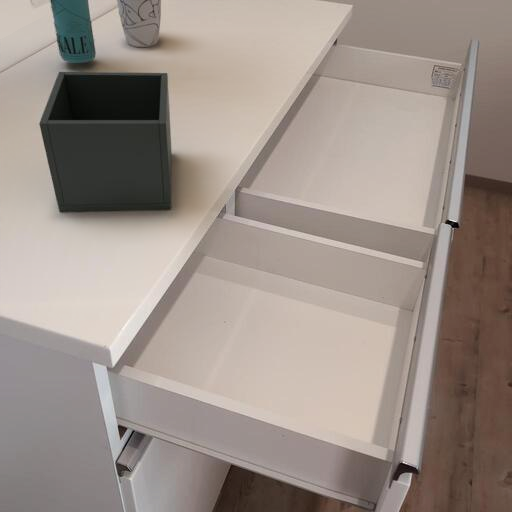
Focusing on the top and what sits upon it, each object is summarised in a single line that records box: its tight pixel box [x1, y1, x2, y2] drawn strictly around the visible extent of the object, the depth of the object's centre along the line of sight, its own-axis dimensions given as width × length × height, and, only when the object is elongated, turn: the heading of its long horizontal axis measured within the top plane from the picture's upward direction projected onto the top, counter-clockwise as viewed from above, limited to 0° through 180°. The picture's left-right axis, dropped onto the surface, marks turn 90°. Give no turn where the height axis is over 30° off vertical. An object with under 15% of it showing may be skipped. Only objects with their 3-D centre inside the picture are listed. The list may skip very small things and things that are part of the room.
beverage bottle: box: [49, 0, 97, 64], centre depth 93 cm, size 6×7×20 cm
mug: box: [116, 0, 162, 48], centre depth 107 cm, size 11×8×10 cm
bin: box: [39, 71, 173, 213], centre depth 69 cm, size 14×14×12 cm
